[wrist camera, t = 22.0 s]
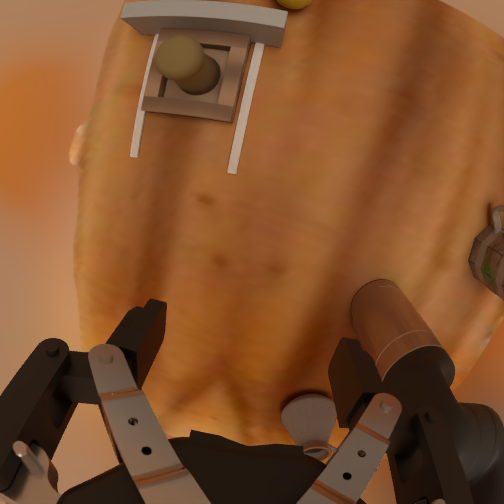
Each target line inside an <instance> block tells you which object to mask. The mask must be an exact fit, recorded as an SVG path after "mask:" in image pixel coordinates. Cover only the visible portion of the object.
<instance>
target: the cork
mask: <svg viewBox="0 0 504 504" xmlns="http://www.w3.org/2000/svg"><path fill="white" fill-rule="evenodd" d="M155 64H156V68H157V70H158V71H159V73H160V74H161V75H163V76H164V77H166V78H168V79H171V80H175V81H176V83H177V84H178V85H179V87H180V88H181V90H183V91H184V92H185V93H187V94H190V95H203V94H206V93H208V92H210V91H211V90H213V89H214V88H215V87H216V85H217V84H218V82H219V80H220V76H221V70H220V66H219V64H218V63H217V62H216V60H215V59H213V58H212V57H210V56H208V55H207V54H205V53H204V51H203V47H202V46H201V45H200V43H199V42H198V41H197V40H196V39H194V38H192V37H189V36H185V35H179V36H174V37H171V38H169V39H167V40H166V41H165V42H163V43H162V44H161V45H160V47H159V48H158V50H157V52H156V54H155Z"/></svg>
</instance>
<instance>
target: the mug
mask: <svg viewBox="0 0 504 504" xmlns="http://www.w3.org/2000/svg"><path fill="white" fill-rule="evenodd" d="M500 211H503V212H504V205H500V206H498V207H496V208H494V211H493V220H494V226H492V225H488V226H487V227H486V228H485V229H484V230H483V231H482V232H481V233H480V234H479V235H478V236H477V237H475V239H474V243H473V246H472V250H471V253H470V256H469V260H468V261H469V264H470V267H471V270H472V273H473V276H474V277H475V278H477V279H479V280H480V281H482V282H483V283H484V284H485V285H486V286H487V287H488V288H489V289H490V290H491V291H492V292H493V293H495V294H496V295H498V296H499V297H500V298H502V299H503V300H504V229H503V228H501V221H500V216H499V213H500Z"/></svg>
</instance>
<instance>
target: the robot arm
mask: <svg viewBox="0 0 504 504" xmlns="http://www.w3.org/2000/svg"><path fill="white" fill-rule="evenodd" d="M166 310H167V303H166V302H162V301H158V300H155V299H149V301H148V302H147V304H146V305H145V307H144V308H142V307H138V306H137V307H135V308H133V309H131V310H130V311H128V312H127V314H126V315H125V317H124V319H122V321H121V322H120V324H119V325H118V326H117V328H116V329H115V331H114V332H113V333H112V335H111V336H110V338H109V339H108V341H107V342H106V344H100V345H97V346H95V347H93V348H92V349H91V350H90V351H89V352H75V351H69V347H68V345H67V343H66V342H64V341H63V340H61V339H57V338H49V339H46V340H44V341H42V342H41V343H39V345H38V346H37V347H36V348H35V350H34V351H33V352H32V354H31V355H30V356H29V357H28V359H27V360H26V361H25V363H24V364H23V365H22V366H21V368H20V369H19V370H18V372H17V373H16V375H15V376H14V377H13V379H12V380H11V381H10V383H9V384H8V386H7V387H6V389H5V390H4V391H3V393H2V394H1V396H0V500H1V501H3V502H5V503H6V504H366V503H365V502H364V501H363V500H362V499H361V498H360V496H361V494H362V493H363V491H364V490H365V488H366V486H367V485H368V483H369V481H370V479H371V478H372V476H373V474H374V473H375V471H376V469H377V467H378V465H379V463H380V462H381V460H382V458H383V456H384V454H385V453H387V456H388V461H389V466H390V471H391V476H392V481H393V486H394V491H395V497H396V503H397V504H504V426H503V423H502V421H501V419H500V418H499V415H498V414H497V413H496V412H495V411H494V410H493V409H492V408H490V407H488V406H486V405H482V404H475V403H459V402H457V400H456V399H455V397H454V395H453V393H452V391H451V389H450V386H451V384H452V382H453V380H454V376H455V367H454V364H453V361H452V360H451V358H450V357H449V355H448V354H447V352H446V351H445V349H444V348H443V346H442V345H441V343H440V342H439V341H438V339H437V338H436V336H435V335H434V334H433V332H432V331H431V329H430V328H429V327H428V325H427V324H426V323H425V321H424V320H423V318H422V317H421V316H420V314H419V313H418V312H417V310H416V309H415V308H414V306H413V305H412V304H411V302H410V301H409V300H408V299H407V297H406V296H405V295H404V293H403V292H402V290H401V289H400V288H399V287H398V286H397V285H396V284H395V283H393V282H391V281H388V280H376V281H373V282H370V283H368V284H367V285H365V286H364V287H362V288H361V289H360V290H359V291H358V292H357V294H356V295H355V297H354V299H353V301H352V305H351V314H352V317H353V322H352V327H353V329H354V332H355V334H356V337H357V339H352V338H344V337H343V338H341V340H340V342H339V344H338V346H337V348H336V351H335V353H334V355H333V357H332V359H331V361H330V364H329V369H328V375H329V379H330V384H331V389H332V394H333V398H334V403H335V408H336V413H337V418H338V423H339V428H349V431H350V432H349V433H348V434H347V436H346V437H345V438H344V440H343V441H342V443H341V444H340V445H339V447H338V448H337V449H336V451H335V452H334V453H333V455H332V456H331V457H330V459H329V460H328V461H327V463H326V464H324V463H323V462H321V461H320V460H318V459H316V458H314V457H312V456H309V455H307V454H304V450H303V446H297V445H285V444H269V445H258V446H246V445H243V444H240V443H237V442H235V441H232V440H229V439H227V438H224V437H222V436H219V435H214V434H209V433H204V432H199V431H195V430H191V432H190V437H177V438H172V439H167V437H166V435H165V434H164V432H163V430H162V428H161V426H160V424H159V422H158V420H157V418H156V416H155V414H154V412H153V410H152V408H151V406H150V404H149V402H148V400H147V398H146V396H145V394H144V392H143V390H142V389H141V388H142V386H143V383H144V381H145V379H146V377H147V374H148V372H149V370H150V368H151V366H152V364H153V361H154V359H155V357H156V355H157V353H158V351H159V349H160V346H161V344H162V342H163V339H164V335H165V325H166ZM78 403H87V404H97V405H98V406H99V409H100V412H101V415H102V418H103V421H104V424H105V427H106V430H107V433H108V435H109V438H110V441H111V443H112V447H113V449H114V452H115V455H116V457H117V459H118V462H119V465H118V466H116V467H114V468H112V469H110V470H108V471H106V472H104V473H102V474H100V475H98V476H96V477H94V478H92V479H90V480H88V481H85V482H83V483H81V484H79V485H77V486H75V487H72V488H70V489H69V490H67V491H66V492H64V493H63V494H62V495H60V494H59V492H58V489H57V483H58V472H57V470H56V468H55V466H54V465H53V463H52V462H51V460H52V457H53V455H54V452H55V451H56V448H57V446H58V444H59V442H60V440H61V438H62V435H63V433H64V431H65V429H66V427H67V425H68V423H69V421H70V418H71V417H72V415H73V412H74V410H75V408H76V406H77V404H78Z"/></svg>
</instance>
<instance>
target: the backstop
mask: <svg viewBox="0 0 504 504" xmlns="http://www.w3.org/2000/svg"><path fill="white" fill-rule="evenodd" d="M287 14H288V11H283V10H278V9H272V8H266V7H260V6H253V5H246V4H237V3H227V2H215V1H196V0H157V1H139V2H127V3H125V5H124V8H123V11H122V13H121V16H120V18H121V19H122V20H123V21H125V22H126V23H128V24H129V25H130V26H132V27H133V28H134V29H136V30H137V31H139V32H140V33H141V34H143V35H155V38H154V41H153V45H152V48H151V52H150V56H149V60H148V64H147V68H146V72H145V76H144V81H143V85H142V90H141V94H140V99H139V104H138V109H137V115H136V120H135V126H134V132H133V138H132V144H131V151H130V157H135V158H138V157H139V150H140V144H141V137H142V131H143V126H144V120H145V115H146V111H141V106H142V101H143V97H144V92H145V87H146V83H147V78H148V74H149V70H150V66H151V62H152V58H153V54H154V50H155V46H156V43H157V39H158V36H159V32H160V29H161V28H169V29H194V30H208V31H219V32H228V33H236V34H244V35H250V37H251V43H256V44H255V48H254V52H253V56H252V60H251V64H250V69H249V73H248V77H247V82H246V86H245V90H244V95H243V99H242V104H241V108H240V113H239V117H238V122H237V127H236V131H235V136H234V141H233V146H232V151H231V156H230V161H229V166H228V171H227V173H232V174H236V173H237V168H238V163H239V158H240V153H241V148H242V144H243V139H244V134H245V130H246V125H247V120H248V116H249V111H250V107H251V102H252V98H253V93H254V89H255V84H256V80H257V76H258V71H259V67H260V63H261V59H262V54H263V50H264V46H265V45H267V46H273V47H278V48H281V46H282V41H283V37H284V32H285V26H286V20H287Z"/></svg>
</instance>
